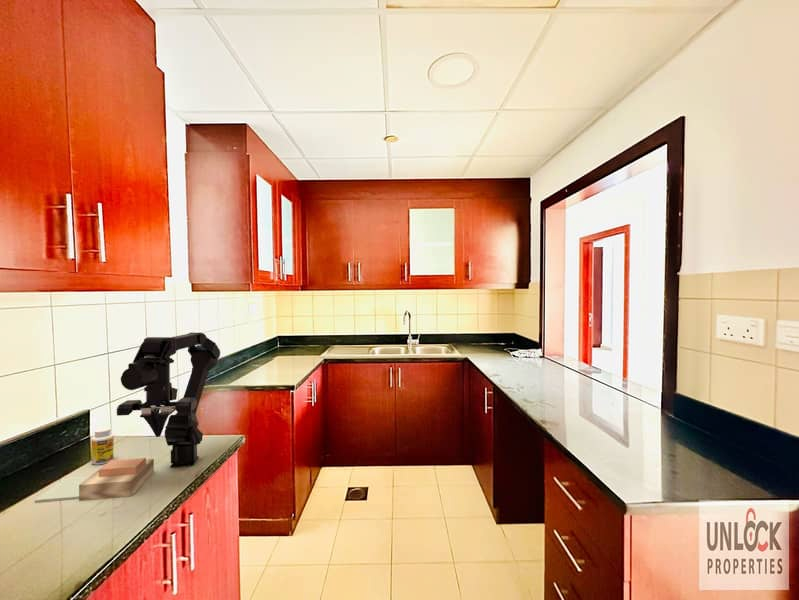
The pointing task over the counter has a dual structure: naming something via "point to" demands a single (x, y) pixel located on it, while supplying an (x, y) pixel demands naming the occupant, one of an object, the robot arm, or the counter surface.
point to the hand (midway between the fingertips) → (158, 436)
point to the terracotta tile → (122, 467)
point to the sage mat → (63, 490)
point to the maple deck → (114, 484)
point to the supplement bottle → (102, 446)
